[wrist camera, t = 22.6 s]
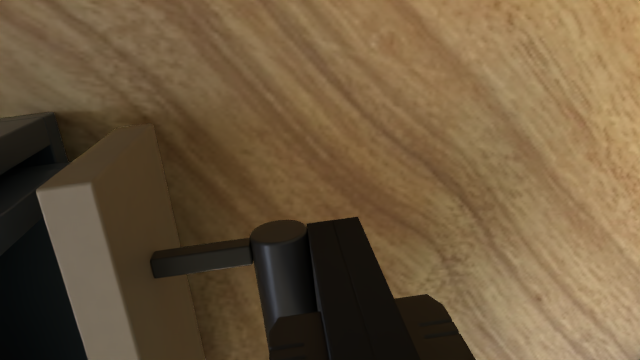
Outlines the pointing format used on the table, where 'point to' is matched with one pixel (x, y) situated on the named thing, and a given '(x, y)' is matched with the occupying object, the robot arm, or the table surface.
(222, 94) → the table surface
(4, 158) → the cabinet
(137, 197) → the drawer
